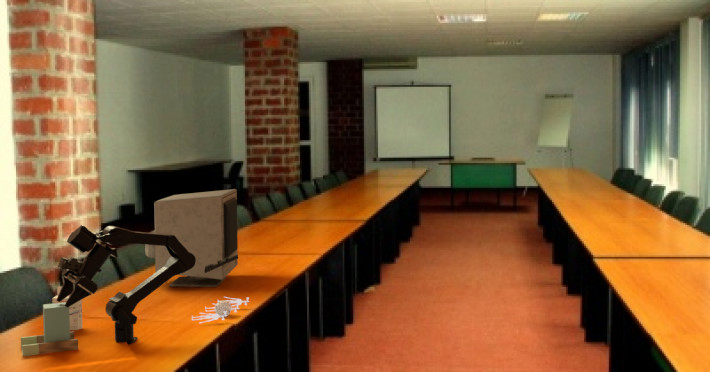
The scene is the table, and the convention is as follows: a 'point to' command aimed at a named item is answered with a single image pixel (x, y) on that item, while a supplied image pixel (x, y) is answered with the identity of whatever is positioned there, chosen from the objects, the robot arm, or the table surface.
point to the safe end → (29, 346)
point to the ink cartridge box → (72, 311)
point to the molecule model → (223, 306)
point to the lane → (57, 344)
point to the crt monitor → (198, 234)
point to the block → (56, 322)
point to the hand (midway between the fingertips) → (61, 303)
